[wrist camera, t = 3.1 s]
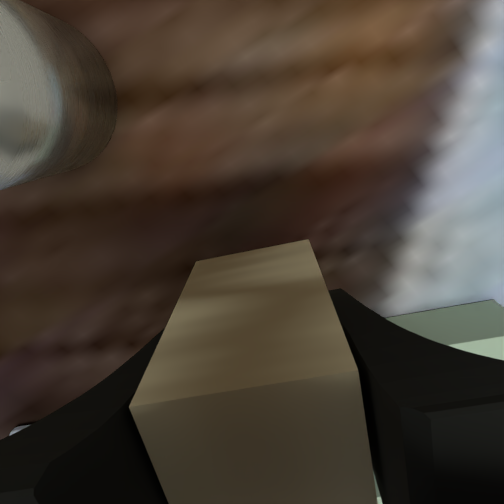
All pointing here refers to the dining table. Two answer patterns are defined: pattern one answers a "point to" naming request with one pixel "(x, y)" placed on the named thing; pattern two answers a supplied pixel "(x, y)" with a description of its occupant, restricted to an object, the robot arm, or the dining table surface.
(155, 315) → the dining table surface
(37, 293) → the dining table surface
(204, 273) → the square peg
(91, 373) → the dining table surface
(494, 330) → the hole plate
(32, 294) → the dining table surface
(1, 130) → the round peg
